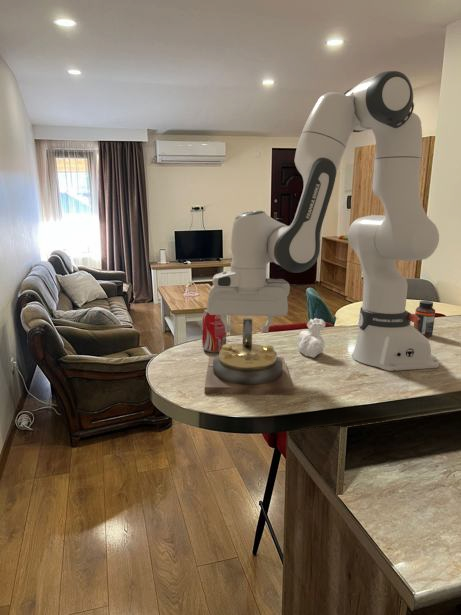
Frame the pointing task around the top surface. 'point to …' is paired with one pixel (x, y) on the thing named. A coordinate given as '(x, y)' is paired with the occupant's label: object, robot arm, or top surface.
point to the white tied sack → (311, 338)
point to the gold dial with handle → (247, 353)
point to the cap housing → (247, 379)
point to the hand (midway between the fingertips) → (246, 331)
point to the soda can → (213, 332)
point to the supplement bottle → (425, 318)
